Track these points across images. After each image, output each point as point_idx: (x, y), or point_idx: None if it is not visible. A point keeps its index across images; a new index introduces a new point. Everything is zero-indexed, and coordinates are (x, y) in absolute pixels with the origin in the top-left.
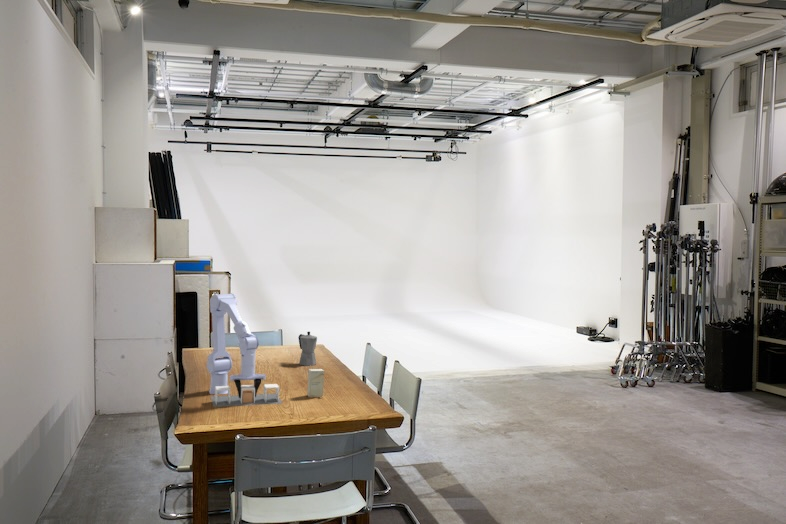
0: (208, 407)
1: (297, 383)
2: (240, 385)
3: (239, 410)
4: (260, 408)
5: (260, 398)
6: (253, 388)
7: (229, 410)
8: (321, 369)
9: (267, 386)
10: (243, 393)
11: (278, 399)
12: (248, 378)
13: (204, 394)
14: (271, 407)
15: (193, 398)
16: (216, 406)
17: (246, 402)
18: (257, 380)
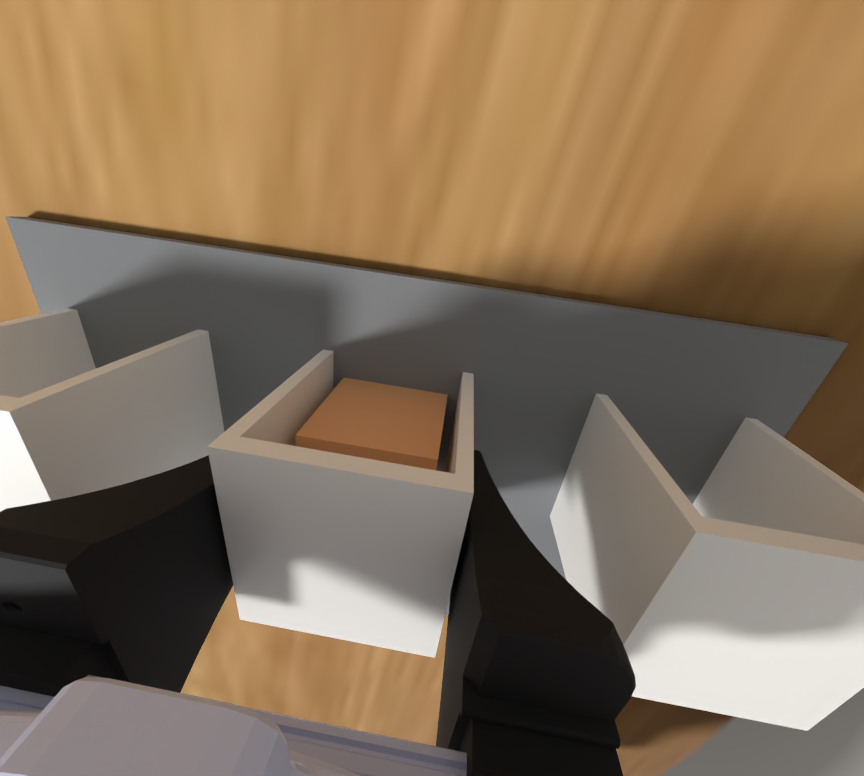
0: (851, 395)
1: None
2: (484, 574)
3: (580, 104)
4: (282, 123)
5: None
6: (242, 449)
7: (709, 156)
8: None
9: (4, 475)
10: (431, 456)
11: (43, 313)
12: (167, 726)
13: (627, 706)
14: (143, 130)
15: None
16: (802, 347)
17: (407, 388)
18: (45, 628)
